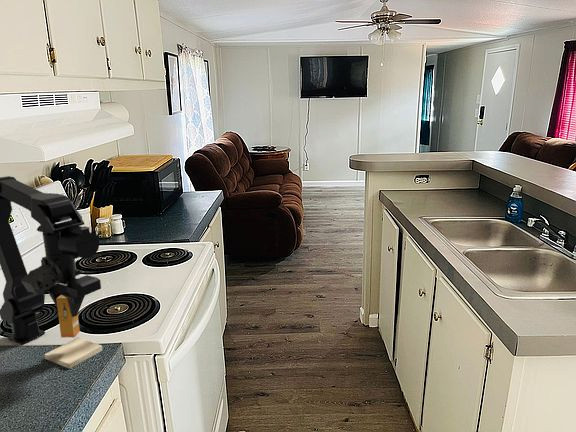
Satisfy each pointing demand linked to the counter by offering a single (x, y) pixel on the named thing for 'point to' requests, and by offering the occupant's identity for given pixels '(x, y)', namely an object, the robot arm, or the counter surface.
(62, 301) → the supplement box
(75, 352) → the birch board
